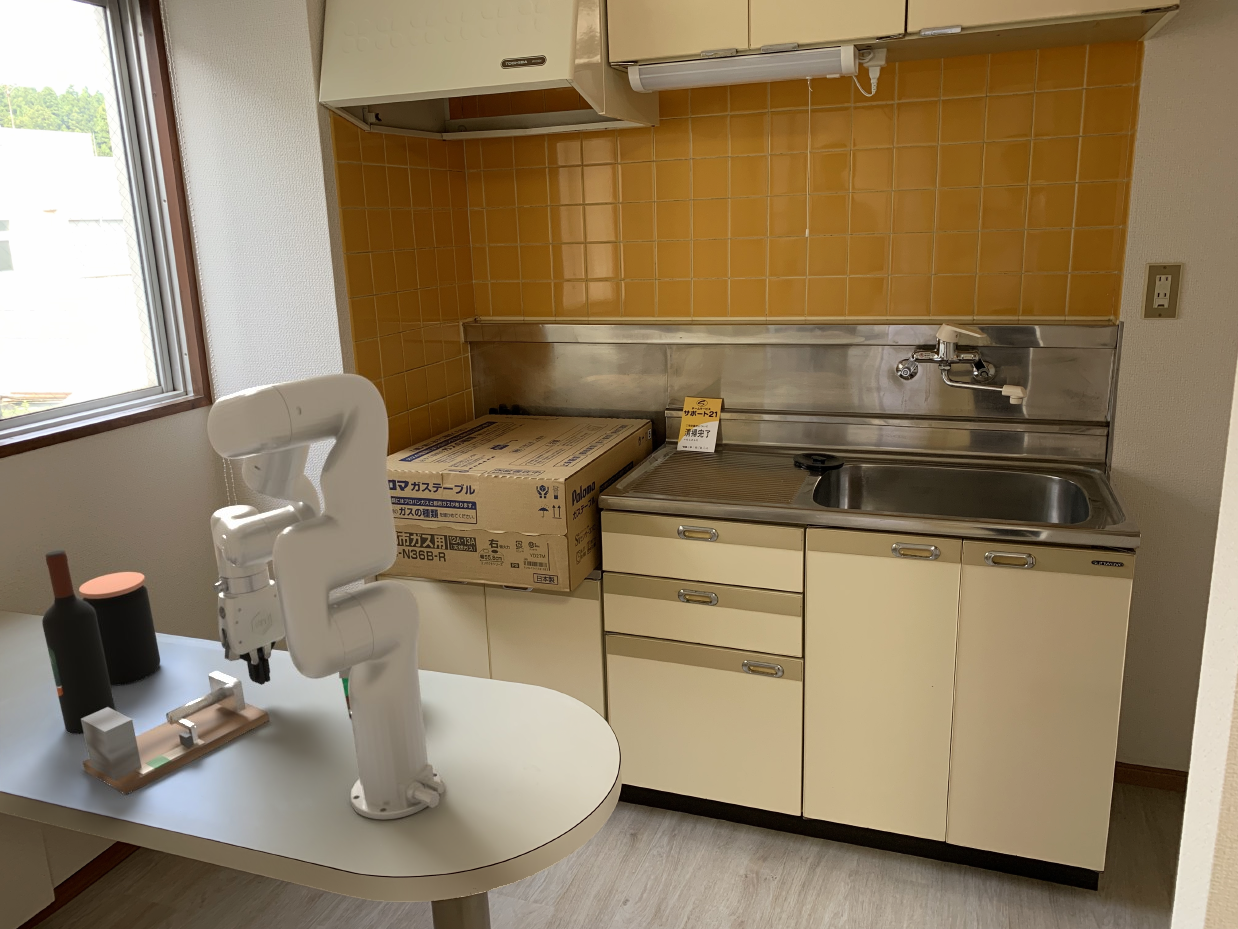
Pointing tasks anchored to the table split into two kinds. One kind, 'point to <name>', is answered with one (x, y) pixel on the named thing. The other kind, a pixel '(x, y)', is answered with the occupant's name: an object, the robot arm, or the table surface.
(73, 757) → the table surface
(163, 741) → the gauge board
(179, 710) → the plunger
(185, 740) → the dark grey small block
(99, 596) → the coffee jar
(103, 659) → the wine bottle
